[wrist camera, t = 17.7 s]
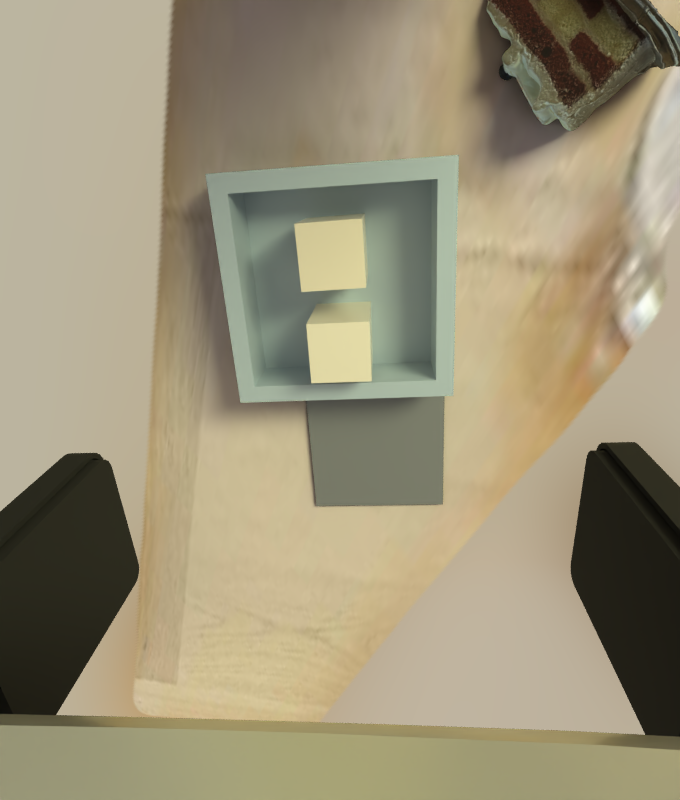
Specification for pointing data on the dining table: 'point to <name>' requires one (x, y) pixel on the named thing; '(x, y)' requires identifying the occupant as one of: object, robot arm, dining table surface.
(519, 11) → the dark piece
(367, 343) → the stone
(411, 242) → the blue bin
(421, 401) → the dark mat
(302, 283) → the stone
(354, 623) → the dining table surface
